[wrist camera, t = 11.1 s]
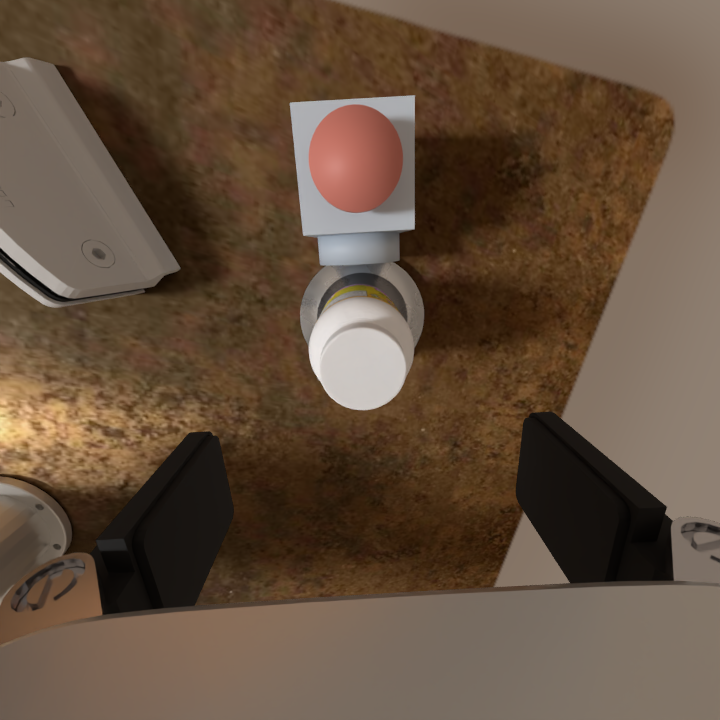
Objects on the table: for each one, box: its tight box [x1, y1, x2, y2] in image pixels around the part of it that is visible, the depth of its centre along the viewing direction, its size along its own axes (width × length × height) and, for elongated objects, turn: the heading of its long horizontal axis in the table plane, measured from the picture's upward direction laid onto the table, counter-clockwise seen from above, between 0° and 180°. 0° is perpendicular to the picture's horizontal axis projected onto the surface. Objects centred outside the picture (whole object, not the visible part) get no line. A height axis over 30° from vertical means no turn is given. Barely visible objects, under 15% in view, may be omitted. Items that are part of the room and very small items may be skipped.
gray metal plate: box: [300, 262, 424, 348], centre depth 31 cm, size 11×11×1 cm
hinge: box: [0, 58, 181, 307], centre depth 24 cm, size 17×5×10 cm, turn 25°
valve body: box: [290, 95, 415, 265], centre depth 23 cm, size 9×7×10 cm
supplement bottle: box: [309, 284, 414, 410], centre depth 24 cm, size 7×7×13 cm
